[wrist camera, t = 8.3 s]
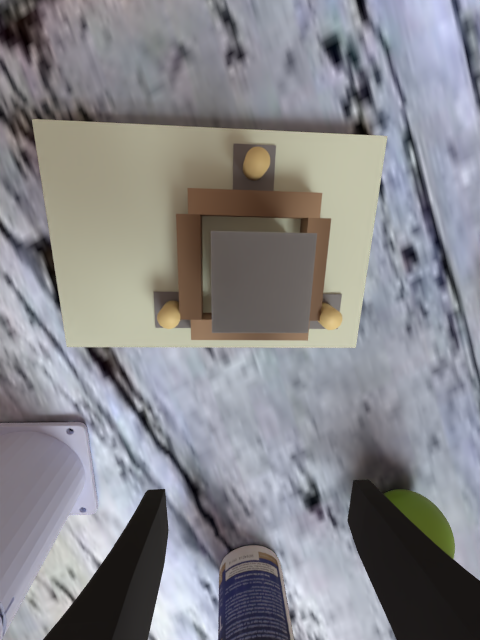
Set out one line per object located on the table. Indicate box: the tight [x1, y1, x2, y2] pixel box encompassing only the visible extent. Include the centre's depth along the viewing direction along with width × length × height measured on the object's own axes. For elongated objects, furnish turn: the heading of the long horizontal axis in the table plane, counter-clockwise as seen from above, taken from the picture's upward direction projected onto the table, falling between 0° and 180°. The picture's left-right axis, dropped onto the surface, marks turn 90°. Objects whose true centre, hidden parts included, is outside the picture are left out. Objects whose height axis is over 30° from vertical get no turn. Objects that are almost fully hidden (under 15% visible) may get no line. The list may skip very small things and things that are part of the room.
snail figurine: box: [384, 489, 455, 559], centre depth 19 cm, size 5×6×12 cm
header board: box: [32, 119, 387, 348], centre depth 16 cm, size 18×12×3 cm, turn 89°
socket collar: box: [176, 188, 331, 341], centre depth 16 cm, size 8×8×2 cm
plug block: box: [211, 231, 317, 333], centre depth 15 cm, size 4×4×6 cm
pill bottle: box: [218, 545, 294, 640], centre depth 21 cm, size 5×5×10 cm
